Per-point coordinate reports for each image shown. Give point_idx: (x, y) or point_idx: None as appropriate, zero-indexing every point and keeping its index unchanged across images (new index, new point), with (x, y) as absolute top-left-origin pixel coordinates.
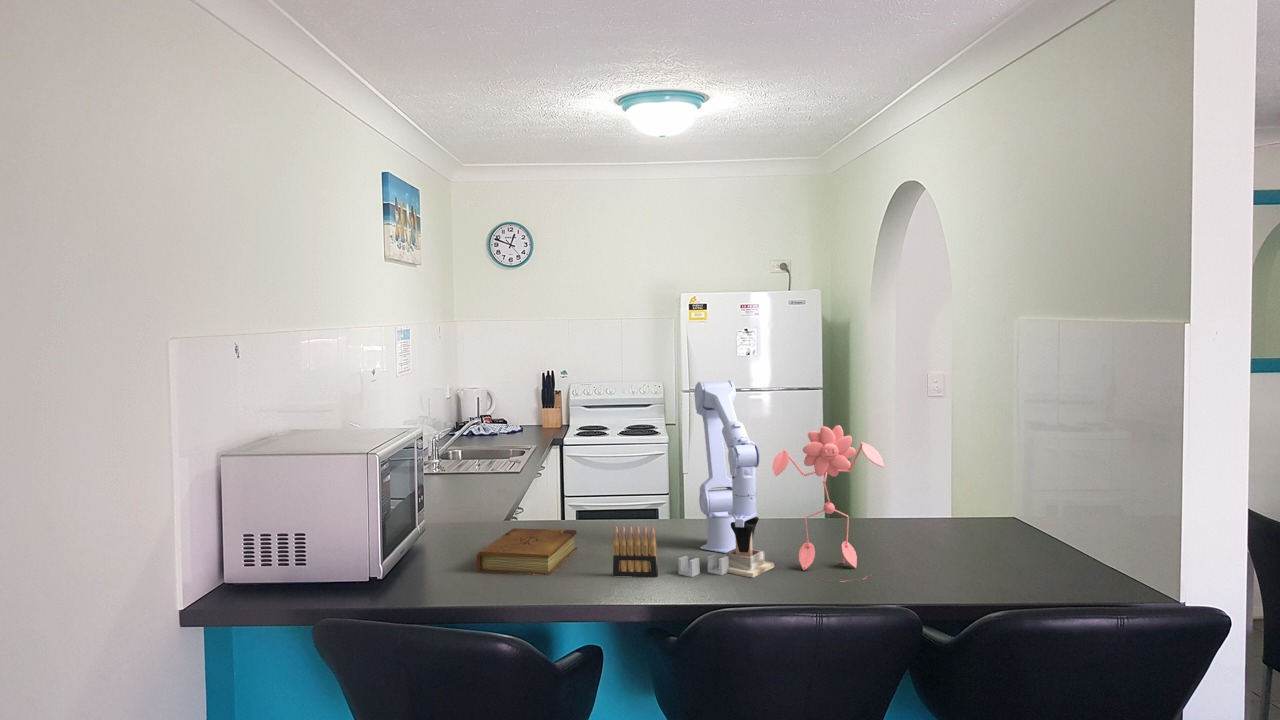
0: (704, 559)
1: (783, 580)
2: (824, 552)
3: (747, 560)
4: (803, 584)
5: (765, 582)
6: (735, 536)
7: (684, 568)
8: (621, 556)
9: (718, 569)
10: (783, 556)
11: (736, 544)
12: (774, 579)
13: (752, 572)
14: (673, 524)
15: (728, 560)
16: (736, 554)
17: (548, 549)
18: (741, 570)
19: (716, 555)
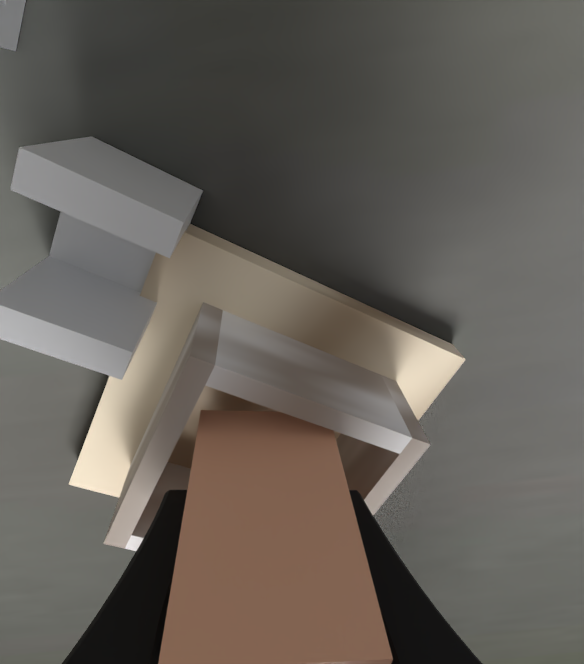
0: (516, 40)
1: (89, 582)
2: (547, 647)
3: (117, 505)
4: (60, 644)
5: (17, 525)
6: (67, 662)
7: None
8: None
9: (104, 244)
10: (512, 539)
11: (181, 525)
12: (91, 551)
13: (89, 480)
14: None
15: (189, 343)
16: (197, 439)
17: None
18: (112, 416)
19: (156, 249)
